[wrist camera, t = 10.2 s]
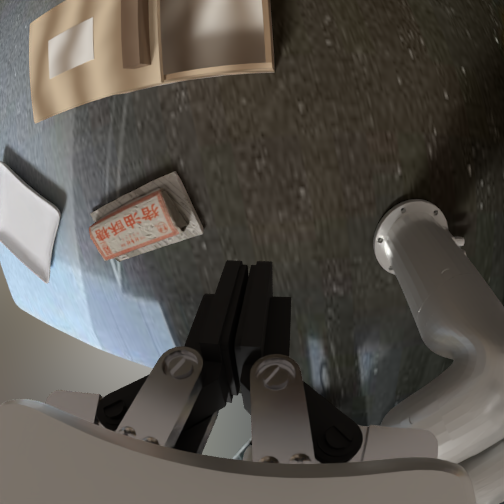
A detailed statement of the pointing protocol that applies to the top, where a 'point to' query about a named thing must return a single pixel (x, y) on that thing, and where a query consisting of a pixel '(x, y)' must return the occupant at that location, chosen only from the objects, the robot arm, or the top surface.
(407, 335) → the top surface
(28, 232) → the salad plate
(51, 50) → the lid
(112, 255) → the packaged product
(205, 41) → the mailer box
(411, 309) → the robot arm
